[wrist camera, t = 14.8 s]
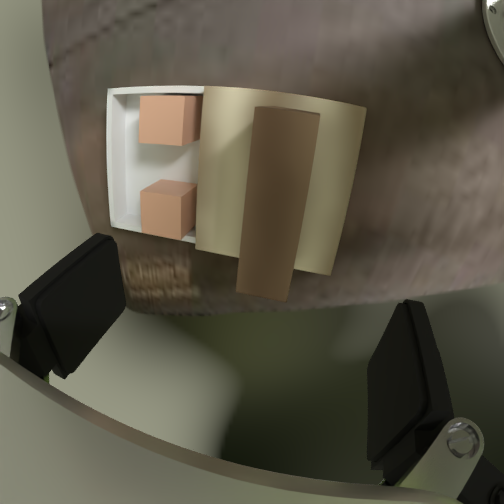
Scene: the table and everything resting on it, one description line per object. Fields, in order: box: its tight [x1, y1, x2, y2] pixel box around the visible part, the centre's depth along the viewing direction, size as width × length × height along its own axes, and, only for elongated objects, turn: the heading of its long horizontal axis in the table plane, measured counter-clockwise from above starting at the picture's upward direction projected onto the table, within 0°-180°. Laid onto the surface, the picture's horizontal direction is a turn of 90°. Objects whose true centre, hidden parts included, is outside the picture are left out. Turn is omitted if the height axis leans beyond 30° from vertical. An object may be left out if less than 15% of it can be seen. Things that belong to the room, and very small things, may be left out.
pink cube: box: [139, 95, 203, 146], centre depth 24 cm, size 4×4×4 cm
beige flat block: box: [195, 86, 367, 276], centre depth 25 cm, size 12×14×4 cm
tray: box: [107, 86, 204, 243], centre depth 27 cm, size 10×14×3 cm
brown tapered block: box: [236, 106, 320, 302], centre depth 20 cm, size 4×12×6 cm, turn 173°
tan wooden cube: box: [140, 179, 197, 240], centre depth 27 cm, size 4×4×4 cm
